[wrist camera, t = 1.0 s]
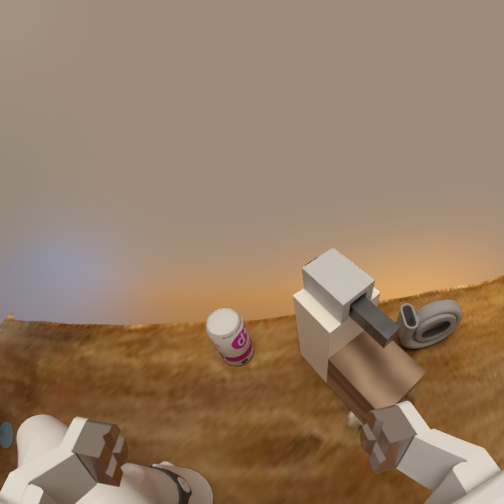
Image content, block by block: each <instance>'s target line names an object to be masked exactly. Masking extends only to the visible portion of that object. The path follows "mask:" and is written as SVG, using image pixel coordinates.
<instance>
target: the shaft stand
mask: <svg viewBox="0 0 504 504" xmlns="http://www.w3.org/2000/svg"><path fill="white" fill-rule="evenodd" d="M302 273H303V283H304V289H302V290H301V291H299V292H298V293H296V294H295V295H293V299H294V306H295V314H296V321H297V329H298V336H299V344H300V351H301V355H302V356H303V357H304V358H305V359H306V361H307V362H308V363H309V364H310V365H311V366H312V367H313V369H314V370H315V371H316V372H317V373H318V374H319V375H320V377H321V378H322V379H323V380H324V381H325V382H327V369H328V359H329V358H330V357H331V356H333V355H334V354H335V353H336V352H338V351H339V350H340V349H342V348H343V347H344V346H345V345H347V344H348V343H349V342H350V341H352V340H353V339H354V338H355V337H356V336H358V335H359V334H360V333H361V332H363V331H364V330H363V329H362V328H361V327H360V326H359V325H358V324H357V323H356V322H355V321H354V320H353V319H352V318H351V317H349V311H350V304H351V303H352V302H354V301H355V300H356V299H357V298H359V297H360V296H361V295H362V294H363V295H364V296H365V297H366V298H367V299H368V300H369V301H371V302H372V303H373V304H374V305H375V306H376V307H377V305H378V301H379V296H380V292H379V291H378V290H377V289H375V288H374V282H375V280H374V279H372V278H371V277H370V276H369V275H367V274H366V273H365V272H364V271H362V270H361V269H360V268H359V267H357V266H356V265H355V264H353V263H352V262H351V261H350V260H348V259H347V258H346V257H345V256H343V255H342V254H341V253H339V252H338V251H337V250H335V249H334V248H332V249H330V250H329V251H327V252H326V253H325V254H323V255H321V256H320V257H318V258H317V259H315V260H313V261H312V262H310V263H309V264H307V265H306V266H304V267H303V268H302Z"/></svg>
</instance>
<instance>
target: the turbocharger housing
mask: <svg viewBox="0 0 504 504" xmlns="http://www.w3.org/2000/svg"><path fill="white" fill-rule="evenodd" d="M461 319H462V312H461V310H460V307H459V305H458V303H457V302H456V301H454V300H449V299H448V300H441V301H435V302H432V303H429V304H427V305H425V306H424V307H422V308H420V309H419V310H418V311H417V312H415V309H414V307H413V306H412V305H411V304H409V303H405V304H403V305H402V306H401V307H400V313H399V316H398V319H397V322H396V324H397V325H398V326H399V327H400V329H399V332H398V336H399V339H400V342H401V344H402V345H403V346H404V347H406V348H411V349H417V348H423V347H427V346H430V345H432V344H435V343H437V342H439V341H441V340H442V339H444V338H445V337H447V336H448V335H450V334H451V333H452V332H453V331H454V330H455V329H456V328H457V326H458V325H459V324H460V322H461Z"/></svg>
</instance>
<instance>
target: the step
mask: <svg viewBox="0 0 504 504" xmlns="http://www.w3.org/2000/svg"><path fill="white" fill-rule="evenodd" d="M425 373H426V371H425V370H424V369H423V368H422V367H421V366H420V365H418V364H417V363H416V362H415V361H414V360H413V359H412V358H411V357H410V356H409V355H408V354H407V353H406V352H405V351H403V350H402V349H401V348H400V347H399V346H398V345H397V344H396V343H395V342H394V341H392V342H391V343H389V344H388V345H387V346H386V347H385V348H382V347H381V346H380V345H379V344H378V343H377V342H376V341H375V340H374V339H373V338H372V337H371V336H370V335H369V334H368V333H367V332H365V331H363V332H361V333H360V334H359V335H358V336H356V337H355V338H354V339H353V340H352V341H350V342H349V343H348V344H347V345H345V346H344V347H343V348H342V349H340V350H339V351H338V352H336V353H335V354H334V355H333V356H331V357H330V358H329V359H328V369H327V382H326V383H327V384H328V386H329V387H330V388H331V389H332V390H333V391H334V392H335V393H336V394H337V396H338V397H339V398H340V399H341V400H342V401H343V402H344V403H345V404H346V406H347V407H348V408H349V409H350V410H351V411H352V412H353V413H354V414H355V415H356V417H357V418H358V419H359V420H360V421H361V422H362V423H363V424H364V425H365V424H366V423H367V422H366V420H365V417H366V414H367V413H368V412H369V411H372V410H376V409H379V408H383V407H387V406H390V405H395V404H398V403H399V402H400V401H401V400H403V399H404V398H405V397H406V396H407V394H408V393H409V392H410V391H411V390H412V389H413V388H414V386H415V385H416V384H417V383H418V382H419V380H420V379H421V378H422V377H423V376H424V374H425Z"/></svg>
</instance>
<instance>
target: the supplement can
mask: <svg viewBox="0 0 504 504" xmlns="http://www.w3.org/2000/svg"><path fill="white" fill-rule="evenodd" d="M206 331H207V333H208V335H209V337H210V339H211V340H212V342H213V343H214V345H215V347H216V348H217V350H218V351H219V353H220V354H221V356H222V357H223V359H224V360H225V361H226V362H227V363H228V364H230V365H233V366H240V365H243V364H245V363H247V362H248V361H249V360H250V359H251V358H252V356H253V353H254V346H253V343H252V341H251V339H250V336H249V334H248V332H247V329H246V327H245V324H244V322H243V319H242V318H241V316H240V314H238V313H237V312H236V311H233V310H232V309H228V308H221V309H218V310H216V311H214V312H213V313H212V314H211V315H210V316H209V317H208V320H207V325H206Z"/></svg>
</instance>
